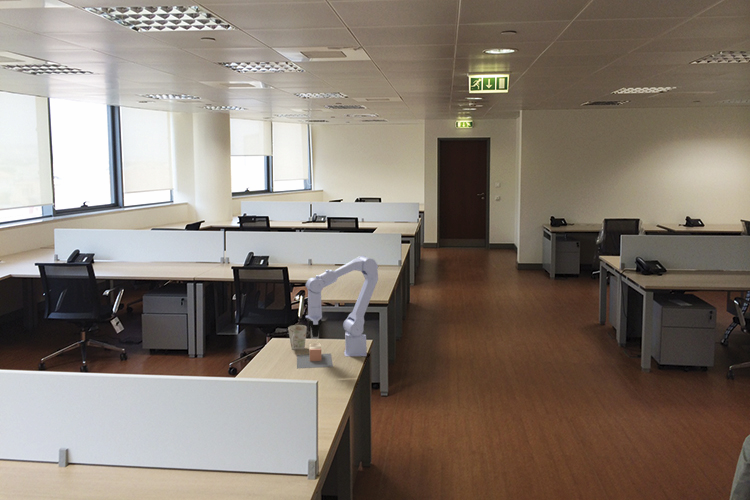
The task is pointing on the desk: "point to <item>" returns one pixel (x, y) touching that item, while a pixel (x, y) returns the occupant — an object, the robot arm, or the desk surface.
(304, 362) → the mat
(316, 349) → the block
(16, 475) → the desk surface
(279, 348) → the desk surface
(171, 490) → the desk surface
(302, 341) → the mug
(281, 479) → the desk surface
